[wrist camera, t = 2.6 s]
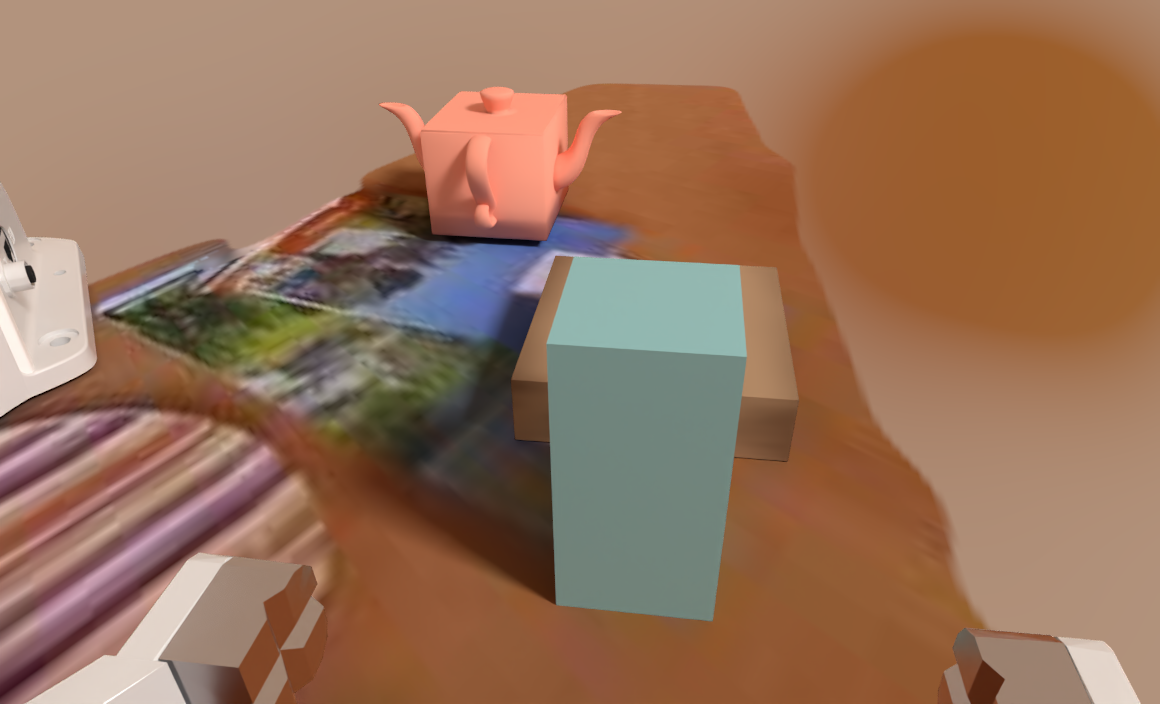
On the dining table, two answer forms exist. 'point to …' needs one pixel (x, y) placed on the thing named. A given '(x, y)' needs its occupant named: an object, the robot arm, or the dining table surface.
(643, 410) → the teal pillar
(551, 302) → the walnut plinth
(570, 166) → the teapot
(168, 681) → the robot arm
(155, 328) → the dining table surface
